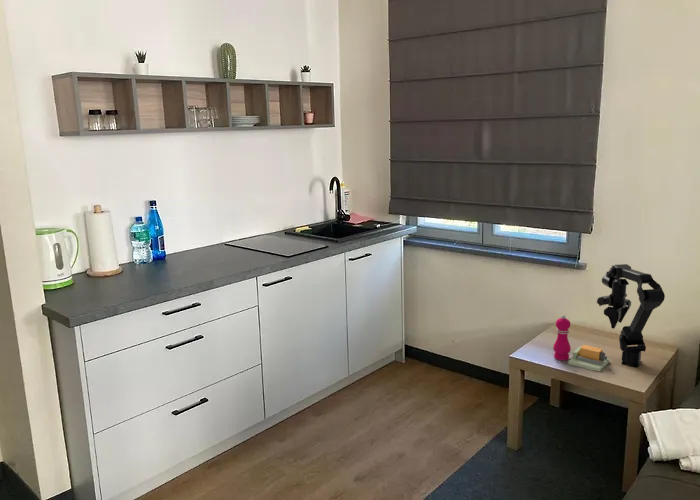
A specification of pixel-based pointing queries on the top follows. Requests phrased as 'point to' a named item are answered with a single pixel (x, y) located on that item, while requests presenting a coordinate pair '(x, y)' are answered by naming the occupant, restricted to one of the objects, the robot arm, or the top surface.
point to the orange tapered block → (592, 353)
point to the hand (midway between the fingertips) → (616, 325)
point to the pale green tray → (587, 361)
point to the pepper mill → (562, 339)
